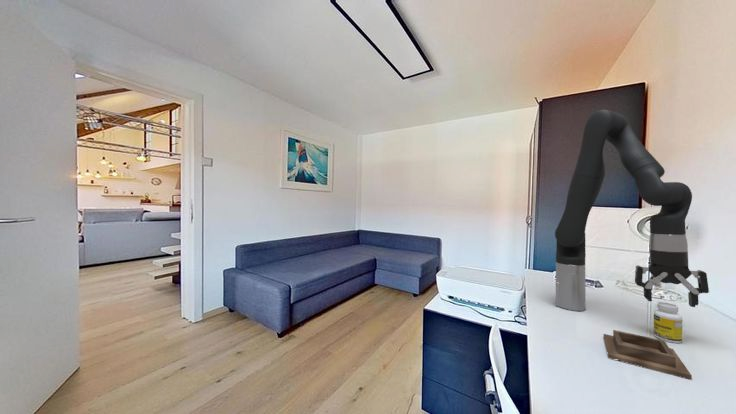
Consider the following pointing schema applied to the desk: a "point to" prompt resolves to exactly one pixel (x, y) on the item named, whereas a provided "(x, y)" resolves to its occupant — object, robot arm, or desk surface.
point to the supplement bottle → (668, 323)
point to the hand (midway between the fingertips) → (670, 303)
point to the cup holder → (645, 353)
